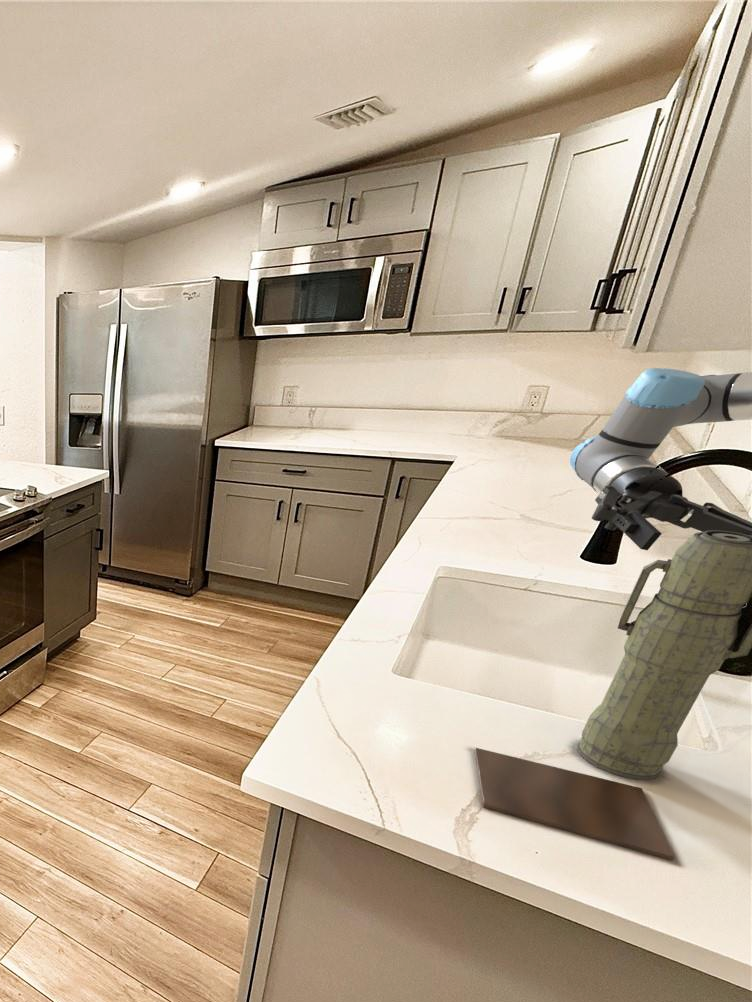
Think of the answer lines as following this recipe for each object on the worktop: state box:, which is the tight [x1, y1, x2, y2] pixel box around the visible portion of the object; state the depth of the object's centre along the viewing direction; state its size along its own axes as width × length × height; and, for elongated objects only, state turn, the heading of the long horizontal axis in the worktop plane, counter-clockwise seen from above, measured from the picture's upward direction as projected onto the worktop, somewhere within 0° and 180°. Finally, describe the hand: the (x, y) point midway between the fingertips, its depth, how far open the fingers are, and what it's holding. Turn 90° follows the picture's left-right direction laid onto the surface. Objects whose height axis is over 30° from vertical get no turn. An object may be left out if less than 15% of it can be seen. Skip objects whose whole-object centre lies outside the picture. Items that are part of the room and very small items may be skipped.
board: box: [474, 747, 675, 861], centre depth 84 cm, size 18×14×1 cm
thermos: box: [576, 530, 752, 781], centre depth 83 cm, size 9×12×35 cm
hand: (713, 553), depth 82 cm, fingers open, 13 cm apart
